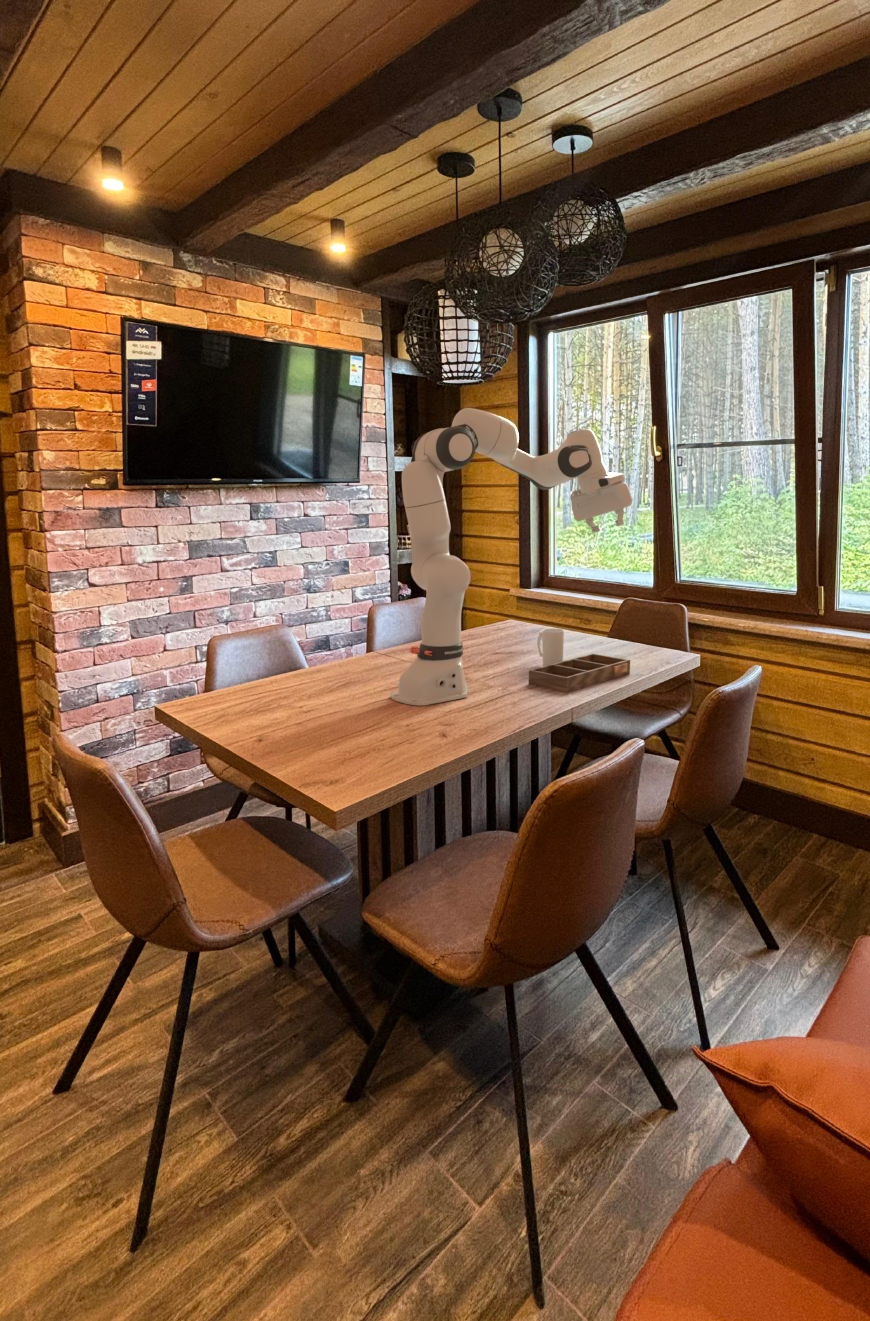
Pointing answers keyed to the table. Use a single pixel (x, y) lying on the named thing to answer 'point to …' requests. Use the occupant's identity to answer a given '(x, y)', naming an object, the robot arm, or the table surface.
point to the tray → (579, 672)
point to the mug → (551, 645)
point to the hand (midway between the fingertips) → (608, 528)
